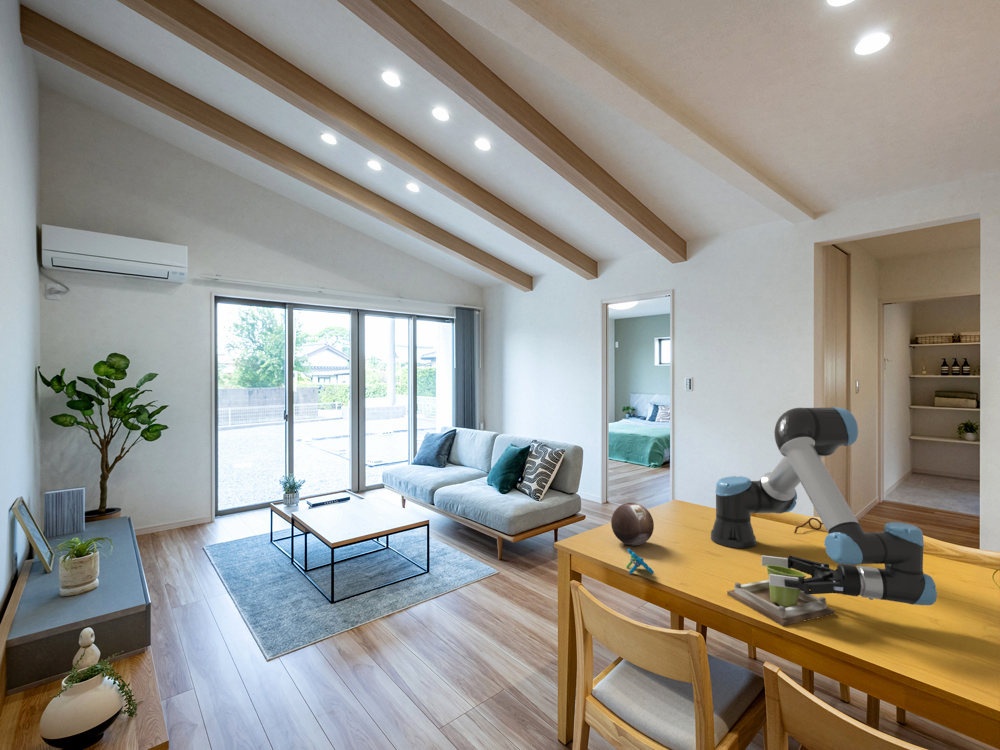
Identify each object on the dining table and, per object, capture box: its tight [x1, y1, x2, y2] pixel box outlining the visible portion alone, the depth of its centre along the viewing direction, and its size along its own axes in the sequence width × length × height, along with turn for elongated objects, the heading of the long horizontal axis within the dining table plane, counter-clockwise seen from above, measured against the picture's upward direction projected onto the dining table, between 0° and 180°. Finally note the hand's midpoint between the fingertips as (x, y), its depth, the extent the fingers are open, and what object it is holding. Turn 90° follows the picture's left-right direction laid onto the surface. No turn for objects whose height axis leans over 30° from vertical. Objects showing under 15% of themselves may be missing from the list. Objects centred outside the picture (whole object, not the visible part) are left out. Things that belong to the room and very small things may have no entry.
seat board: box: [726, 579, 836, 627], centre depth 133 cm, size 18×18×4 cm
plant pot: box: [765, 565, 807, 607], centre depth 130 cm, size 9×9×9 cm
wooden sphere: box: [610, 502, 655, 547], centre depth 178 cm, size 15×15×15 cm
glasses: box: [793, 517, 824, 534], centre depth 188 cm, size 13×13×5 cm
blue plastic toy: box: [626, 548, 655, 575], centre depth 154 cm, size 11×6×10 cm
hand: (765, 569), depth 134 cm, fingers open, 13 cm apart
